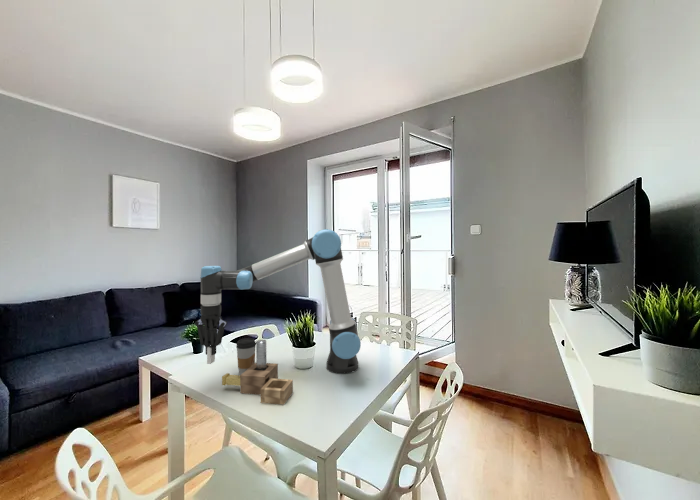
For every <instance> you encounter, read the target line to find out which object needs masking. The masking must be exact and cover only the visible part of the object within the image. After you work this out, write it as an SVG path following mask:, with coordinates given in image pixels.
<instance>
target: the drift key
mask: <svg viewBox="0 0 700 500" xmlns="http://www.w3.org/2000/svg"><path fill="white" fill-rule="evenodd" d="M221 386H236V387H237V386H239V387H240V375H239V374H231V373H229V372H227V373H225V374H224V375H222V377H221Z"/></svg>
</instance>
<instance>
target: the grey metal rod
mask: <svg viewBox="0 0 700 500" xmlns="http://www.w3.org/2000/svg"><path fill="white" fill-rule="evenodd" d="M255 342H256V346H255V361H256V362H255V363H256V370H262V371H265V370H266V369H267V363H268V362H267V340H266V339H259V340H255Z"/></svg>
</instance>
